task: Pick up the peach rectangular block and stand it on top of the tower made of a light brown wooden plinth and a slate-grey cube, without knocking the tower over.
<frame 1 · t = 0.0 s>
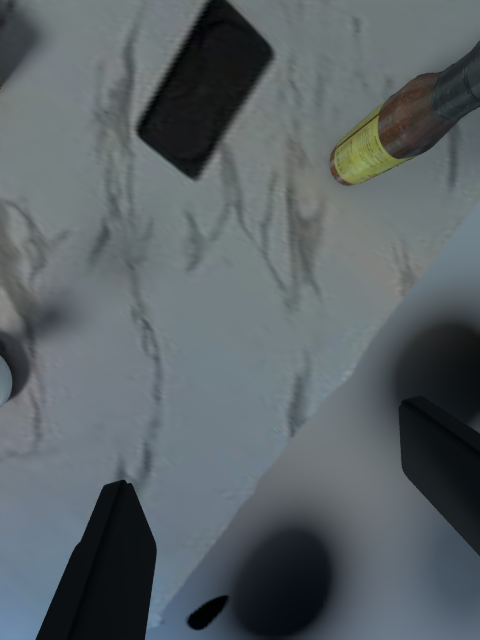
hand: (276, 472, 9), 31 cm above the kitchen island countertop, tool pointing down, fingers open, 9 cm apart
sauce bottle: (348, 161, 37), on the kitchen island countertop
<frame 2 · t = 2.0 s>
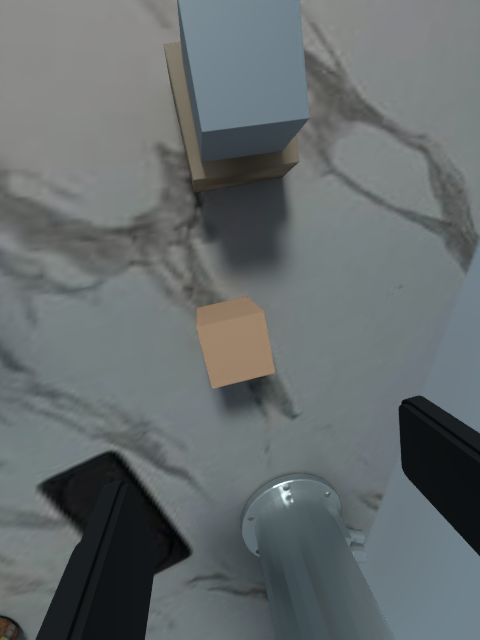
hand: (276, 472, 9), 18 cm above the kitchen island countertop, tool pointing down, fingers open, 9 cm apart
peach rectangular block: (227, 326, 27), on the kitchen island countertop
slate-grey cube: (235, 108, 19), point 4 cm above the kitchen island countertop
light brown wooden plinth: (229, 134, 23), on the kitchen island countertop
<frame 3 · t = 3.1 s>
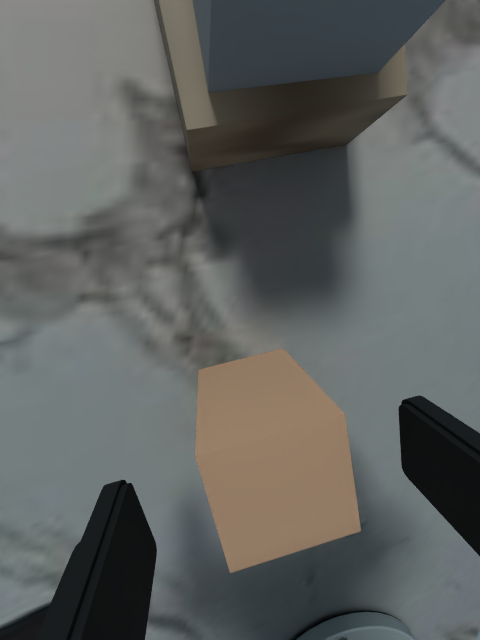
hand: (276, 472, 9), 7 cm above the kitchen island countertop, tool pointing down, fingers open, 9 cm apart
peach rectangular block: (250, 397, 16), on the kitchen island countertop
light brown wooden plinth: (255, 67, 13), on the kitchen island countertop, touching slate-grey cube
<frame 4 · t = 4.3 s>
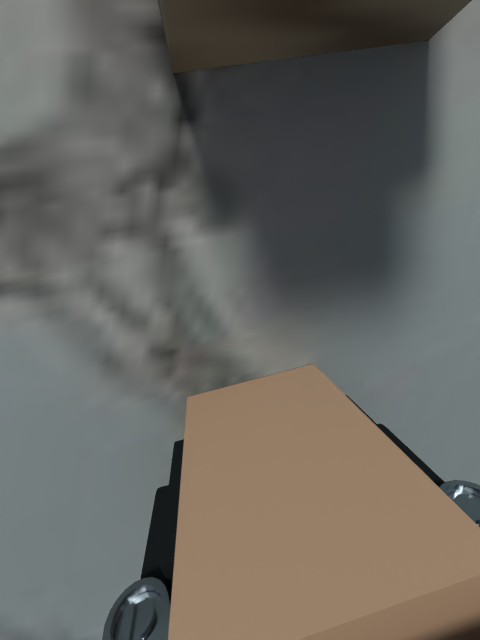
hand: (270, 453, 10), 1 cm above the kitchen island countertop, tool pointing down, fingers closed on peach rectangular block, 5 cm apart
peach rectangular block: (263, 434, 11), on the kitchen island countertop, touching gripper
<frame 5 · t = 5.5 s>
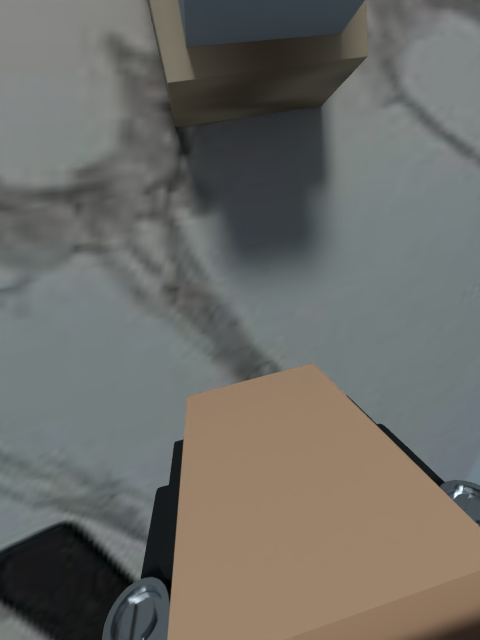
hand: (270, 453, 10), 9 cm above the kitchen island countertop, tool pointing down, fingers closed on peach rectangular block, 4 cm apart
peach rectangular block: (263, 433, 11), point 7 cm above the kitchen island countertop, touching gripper
light brown wooden plinth: (235, 25, 13), on the kitchen island countertop, touching slate-grey cube
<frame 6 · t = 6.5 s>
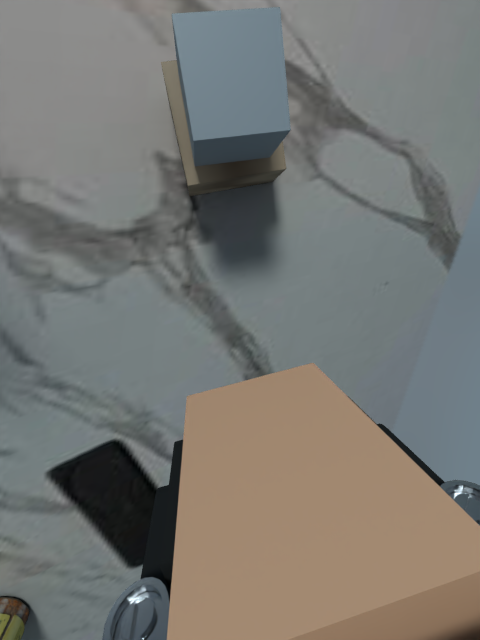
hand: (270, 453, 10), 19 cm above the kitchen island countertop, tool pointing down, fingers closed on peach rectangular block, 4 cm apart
peach rectangular block: (263, 433, 11), point 18 cm above the kitchen island countertop, touching gripper
sauce bottle: (7, 609, 34), on the kitchen island countertop
slate-grey cube: (226, 117, 20), point 4 cm above the kitchen island countertop, touching light brown wooden plinth
light brown wooden plinth: (222, 142, 25), on the kitchen island countertop, touching slate-grey cube
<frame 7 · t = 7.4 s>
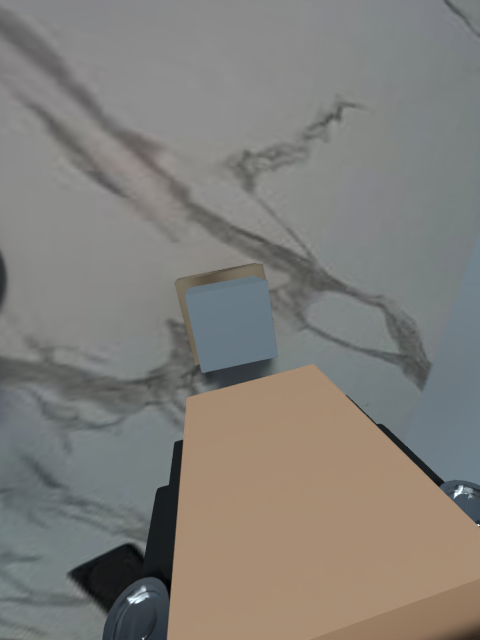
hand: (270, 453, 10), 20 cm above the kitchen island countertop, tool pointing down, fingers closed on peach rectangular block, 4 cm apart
peach rectangular block: (263, 434, 11), point 19 cm above the kitchen island countertop, touching gripper
slate-grey cube: (227, 313, 25), point 4 cm above the kitchen island countertop, touching light brown wooden plinth
light brown wooden plinth: (224, 307, 29), on the kitchen island countertop, touching slate-grey cube
when the fingers open (12 cm above the kitchen island countertop, at t = 9.8 s): peach rectangular block drops 2 cm, resting on slate-grey cube.
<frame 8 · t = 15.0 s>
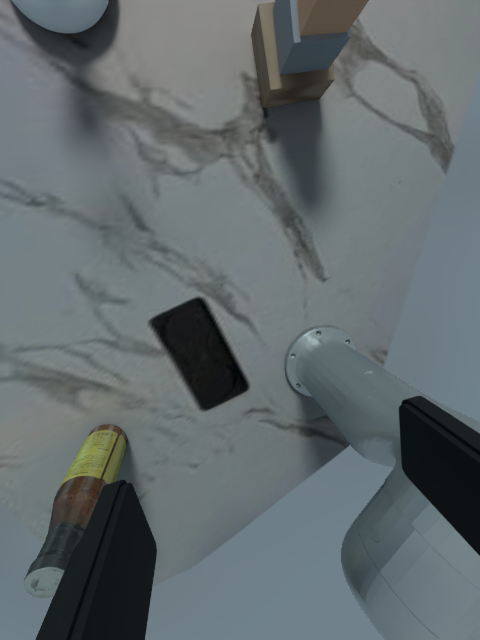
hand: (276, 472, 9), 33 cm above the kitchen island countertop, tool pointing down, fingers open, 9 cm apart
peach rectangular block: (321, 2, 26), point 9 cm above the kitchen island countertop, touching slate-grey cube
sauce bottle: (110, 438, 44), on the kitchen island countertop
slate-grey cube: (301, 40, 31), point 4 cm above the kitchen island countertop, touching peach rectangular block, light brown wooden plinth
light brown wooden plinth: (286, 69, 35), on the kitchen island countertop, touching slate-grey cube
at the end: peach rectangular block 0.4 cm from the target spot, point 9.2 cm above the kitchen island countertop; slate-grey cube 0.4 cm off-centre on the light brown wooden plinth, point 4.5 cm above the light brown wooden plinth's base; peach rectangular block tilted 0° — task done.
